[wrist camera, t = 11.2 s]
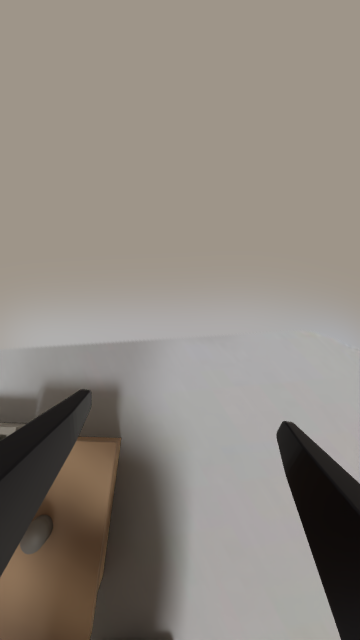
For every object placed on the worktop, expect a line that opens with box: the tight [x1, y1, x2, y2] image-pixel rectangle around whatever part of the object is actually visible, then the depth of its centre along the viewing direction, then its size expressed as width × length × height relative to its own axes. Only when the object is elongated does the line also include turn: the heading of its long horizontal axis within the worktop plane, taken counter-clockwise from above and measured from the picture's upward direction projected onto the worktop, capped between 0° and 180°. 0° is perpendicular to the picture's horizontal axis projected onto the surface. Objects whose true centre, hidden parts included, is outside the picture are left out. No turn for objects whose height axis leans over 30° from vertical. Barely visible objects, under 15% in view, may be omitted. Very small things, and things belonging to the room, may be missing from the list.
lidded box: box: [0, 437, 121, 640], centre depth 15 cm, size 11×9×5 cm
